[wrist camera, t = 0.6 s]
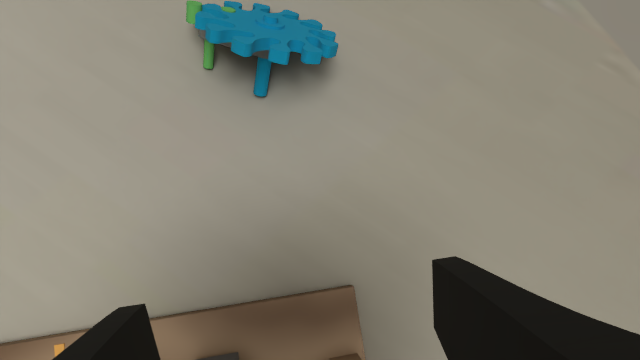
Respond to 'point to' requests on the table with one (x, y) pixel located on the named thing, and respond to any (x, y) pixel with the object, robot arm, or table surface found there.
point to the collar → (223, 357)
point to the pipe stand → (241, 331)
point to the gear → (260, 36)
